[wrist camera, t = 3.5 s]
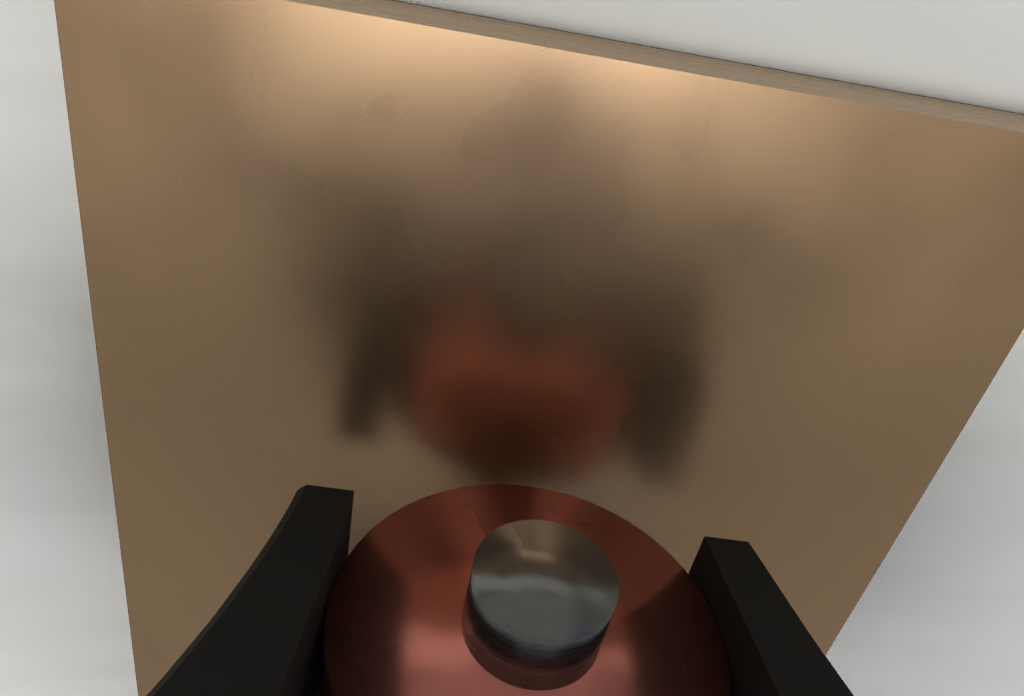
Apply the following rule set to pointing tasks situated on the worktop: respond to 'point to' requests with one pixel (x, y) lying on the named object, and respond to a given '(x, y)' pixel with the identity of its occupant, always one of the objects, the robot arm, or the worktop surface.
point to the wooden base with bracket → (520, 286)
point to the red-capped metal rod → (516, 604)
